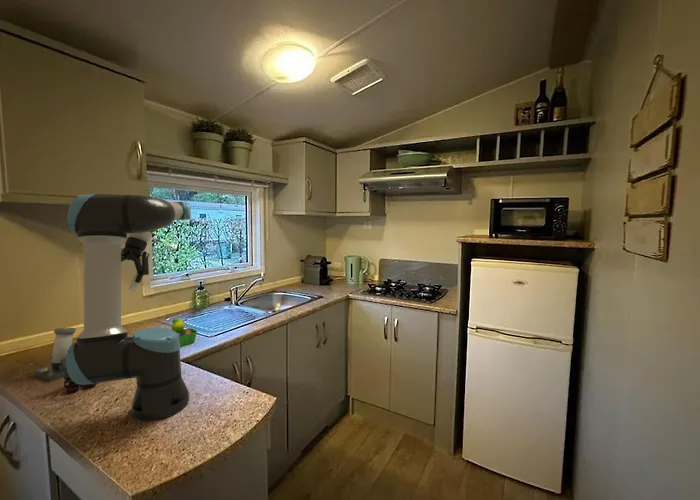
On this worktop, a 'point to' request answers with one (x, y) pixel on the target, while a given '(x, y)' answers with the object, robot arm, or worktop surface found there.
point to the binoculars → (73, 384)
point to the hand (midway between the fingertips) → (116, 287)
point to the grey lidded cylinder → (62, 343)
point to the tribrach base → (51, 371)
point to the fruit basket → (183, 332)
